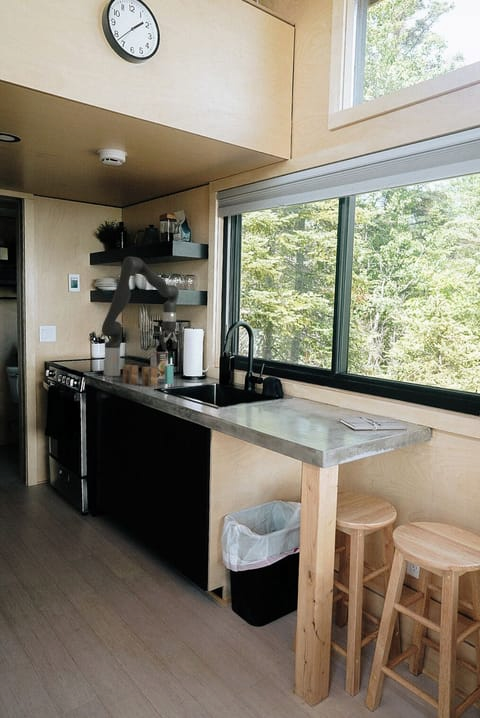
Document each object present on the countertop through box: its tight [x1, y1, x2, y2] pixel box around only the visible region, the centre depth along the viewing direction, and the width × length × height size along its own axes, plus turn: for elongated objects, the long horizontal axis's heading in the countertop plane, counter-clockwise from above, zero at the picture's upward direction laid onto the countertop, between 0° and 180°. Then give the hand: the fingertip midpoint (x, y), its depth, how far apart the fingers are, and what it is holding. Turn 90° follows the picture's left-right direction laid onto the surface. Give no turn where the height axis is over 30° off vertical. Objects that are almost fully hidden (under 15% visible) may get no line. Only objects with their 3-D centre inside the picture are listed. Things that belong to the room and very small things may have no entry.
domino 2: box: [128, 365, 139, 385], centre depth 297 cm, size 2×5×10 cm, turn 145°
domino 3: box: [141, 366, 151, 387], centre depth 291 cm, size 2×5×10 cm, turn 145°
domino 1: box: [122, 364, 133, 384], centre depth 299 cm, size 2×5×10 cm, turn 145°
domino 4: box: [147, 367, 159, 387], centre depth 288 cm, size 2×5×10 cm, turn 145°
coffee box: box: [150, 351, 169, 380], centre depth 321 cm, size 9×6×16 cm
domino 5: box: [164, 365, 174, 385], centre depth 300 cm, size 2×5×10 cm, turn 145°
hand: (169, 349), depth 299 cm, fingers open, 8 cm apart
